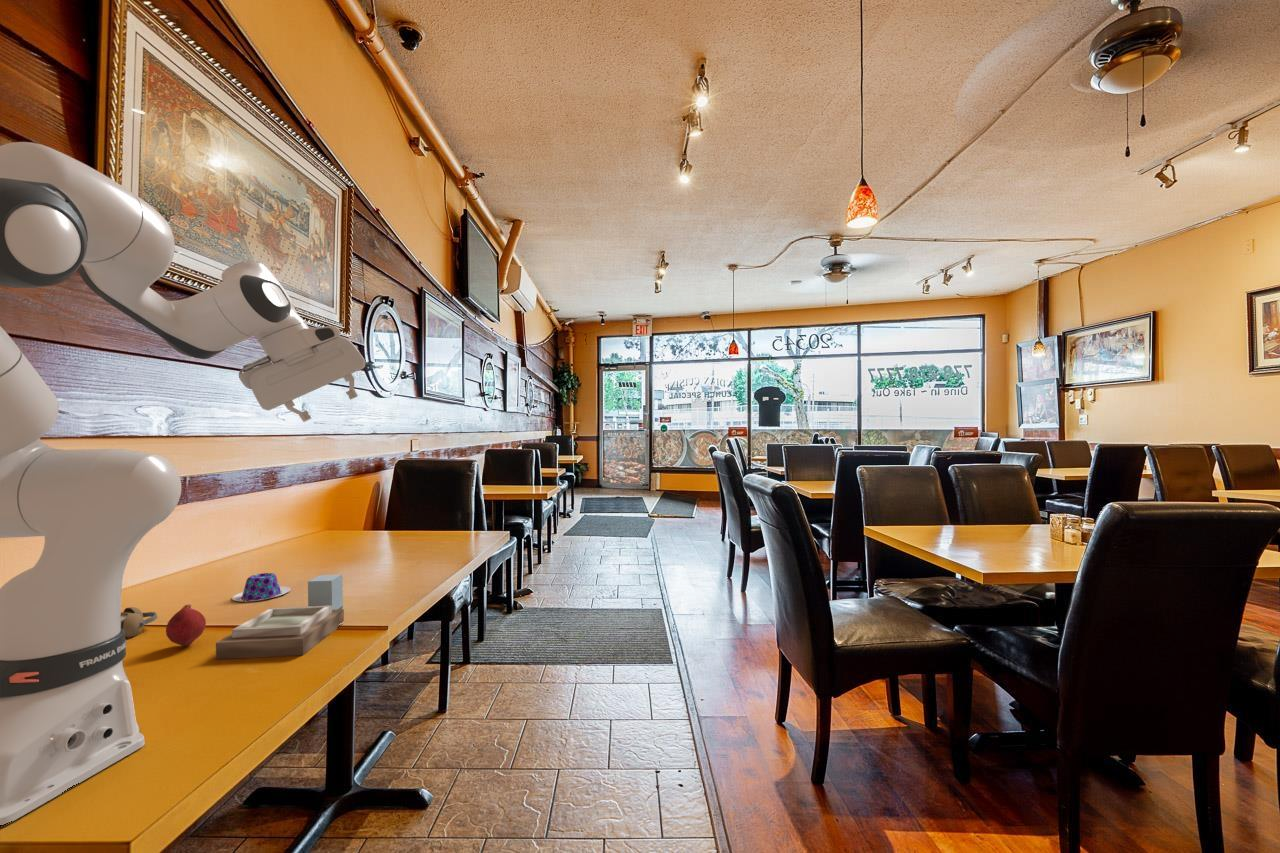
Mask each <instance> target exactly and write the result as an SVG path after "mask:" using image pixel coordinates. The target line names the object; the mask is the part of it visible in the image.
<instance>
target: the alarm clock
mask: <svg viewBox="0 0 1280 853" xmlns="http://www.w3.org/2000/svg"><path fill="white" fill-rule="evenodd" d="M157 613H158V612H155V611H146V612H142V610H141V609H140V608H138V607H135V606H129V607H125V609H123V611H121V628H122V629H124V630H125V638H128V639H129V638H132V637H133V638H134V637H136V636H138V635H139V634H140V633H141V632H142V631H143V629H144V627H145V625H147V624H151V623H152V622H155V620H157V619H158V614H157ZM144 618H146V619H144Z"/></svg>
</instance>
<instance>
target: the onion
mask: <svg viewBox="0 0 1280 853" xmlns="http://www.w3.org/2000/svg"><path fill="white" fill-rule="evenodd" d="M206 627H207V620H206V618H205V616H204V615H203V614H202V613H201V612H200V611H198V610H196V609H193V608H192V604H190V603H186V604H185V605H183V607H181V609H180V610H179V611H177V612H176V613H174V615H173V616H171V618H170V619H169V620H168V622H167V624H166V627H165V634H166V637H167V638H168V640H170V642H171V643H174V644H176V645H179V646H182V647H188V646H191V645H192V644H193V643H194V641H196V640H198V638H199V637H200V636H201V635H203V633H204V631H205V629H206Z"/></svg>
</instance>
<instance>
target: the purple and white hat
mask: <svg viewBox="0 0 1280 853" xmlns="http://www.w3.org/2000/svg"><path fill="white" fill-rule="evenodd" d="M281 591H282V592H281ZM290 591H291V588H290V587H289V586H283V585H281V586H280V584H279V582H278V578H277V575H276V574H275V573H274V572H264V573H263V572H262V573H257V574H253V575H250V576H249V577H248V578H247V579H246V581H245V584H244V589H243V591H242V592H239V593H237V594H235V595H233V596H232V597H231V599H232V600H233V601H236V602H244V601H243V600H245V601H246V600H249V601H252V602H256V601H257V602H258V601H263V600H269V599H273V598H277V597H280V596H282V595H285V594H287V593H289V592H290ZM281 593H282V594H281ZM278 594H279V595H278ZM275 595H276V596H275ZM273 596H274V597H273ZM241 597H242V598H241ZM270 597H271V598H270ZM240 598H241V599H242V600H240ZM264 598H265V599H264ZM260 599H261V600H260Z"/></svg>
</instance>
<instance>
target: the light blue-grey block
mask: <svg viewBox="0 0 1280 853" xmlns="http://www.w3.org/2000/svg"><path fill="white" fill-rule="evenodd" d="M343 586H344V585H343V574H342V573H341V574H320V575H318V576H315V577H313V578H312V579H310V580H308V581H307V603H308V604H307V605H308V606H331V605H332V610H335V609H342V608H343V609H344V604H343V602H344V598H343V597H344V596H343V592H344V591H343Z"/></svg>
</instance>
